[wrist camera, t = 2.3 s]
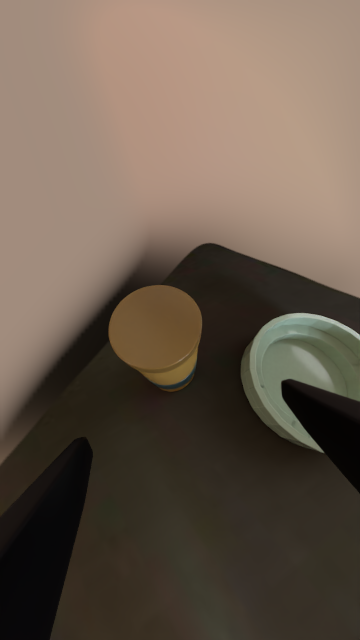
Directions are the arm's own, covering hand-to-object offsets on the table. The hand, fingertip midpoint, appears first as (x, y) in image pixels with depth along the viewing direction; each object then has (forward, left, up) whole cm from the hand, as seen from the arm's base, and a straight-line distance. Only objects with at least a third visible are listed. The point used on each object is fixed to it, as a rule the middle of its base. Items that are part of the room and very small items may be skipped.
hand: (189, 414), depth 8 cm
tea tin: (+4, +4, -13) cm, 14 cm away
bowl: (+9, -10, -13) cm, 19 cm away
